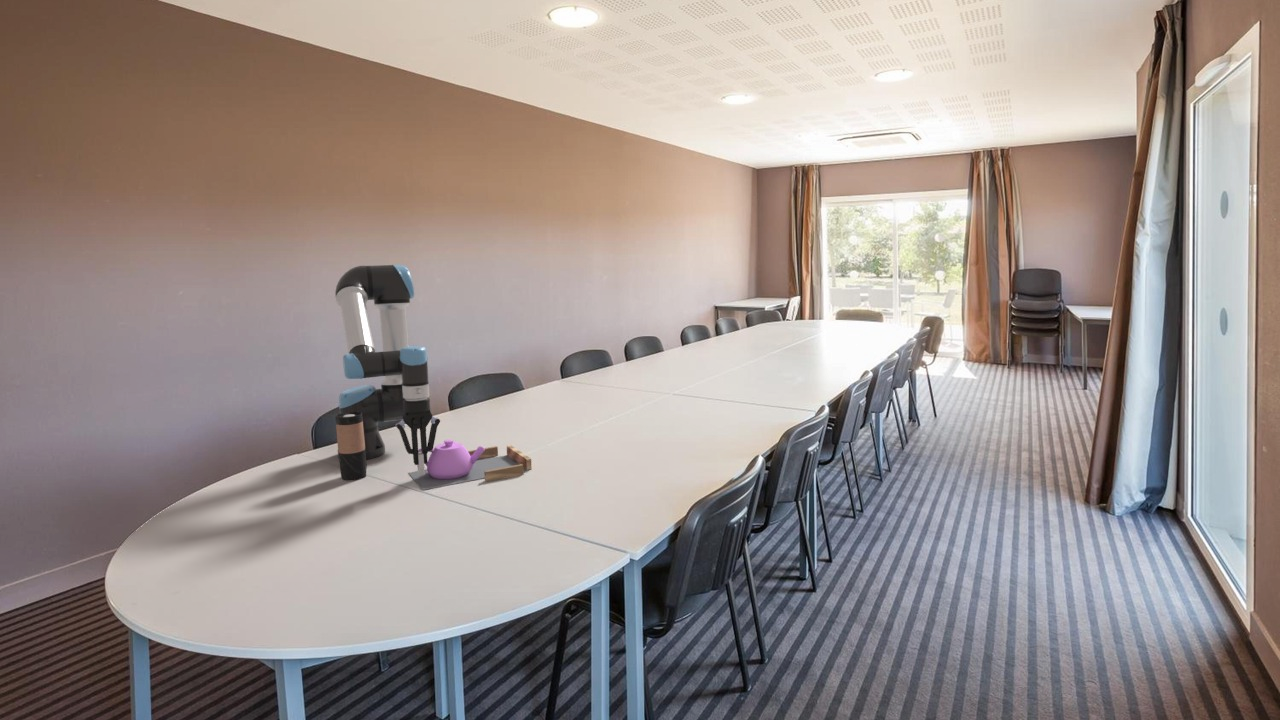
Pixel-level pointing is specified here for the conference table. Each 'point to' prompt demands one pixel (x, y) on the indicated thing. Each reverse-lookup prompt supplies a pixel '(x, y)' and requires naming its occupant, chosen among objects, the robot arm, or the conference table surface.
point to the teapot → (451, 460)
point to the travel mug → (351, 446)
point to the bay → (505, 471)
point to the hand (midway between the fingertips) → (421, 474)
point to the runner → (474, 474)
